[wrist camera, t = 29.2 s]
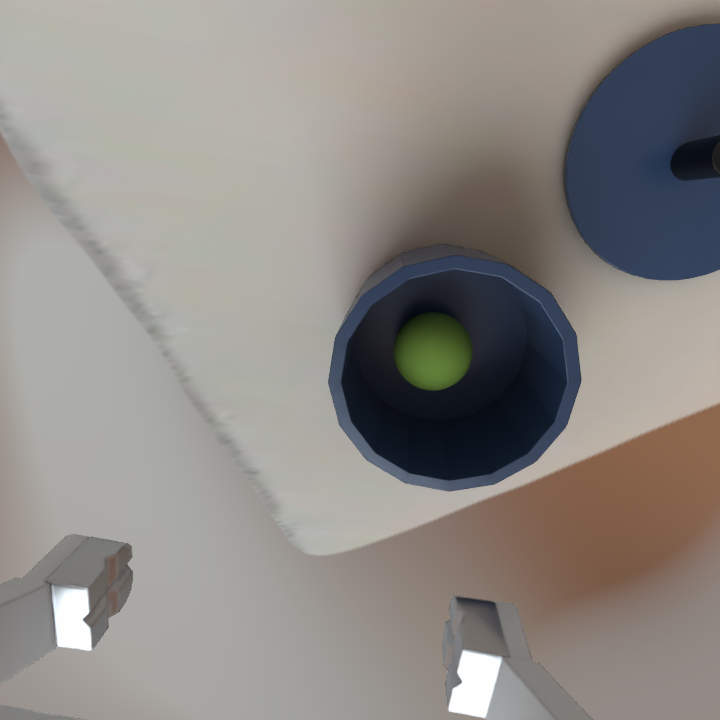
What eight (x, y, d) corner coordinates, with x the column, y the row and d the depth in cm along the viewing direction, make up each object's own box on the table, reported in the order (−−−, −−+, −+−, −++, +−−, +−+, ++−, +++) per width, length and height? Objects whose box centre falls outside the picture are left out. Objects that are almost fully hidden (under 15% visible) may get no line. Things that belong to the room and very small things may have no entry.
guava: (410, 300, 37) (389, 312, 32) (484, 314, 35) (473, 329, 30) (400, 368, 39) (378, 390, 34) (469, 384, 37) (457, 410, 32)
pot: (326, 269, 37) (303, 288, 28) (521, 224, 35) (565, 229, 26) (369, 439, 41) (360, 505, 32) (546, 409, 39) (591, 469, 30)
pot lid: (549, 66, 32) (580, 37, 26) (811, -2, 29) (902, -48, 24) (572, 297, 36) (602, 313, 31) (802, 253, 34) (877, 261, 28)
